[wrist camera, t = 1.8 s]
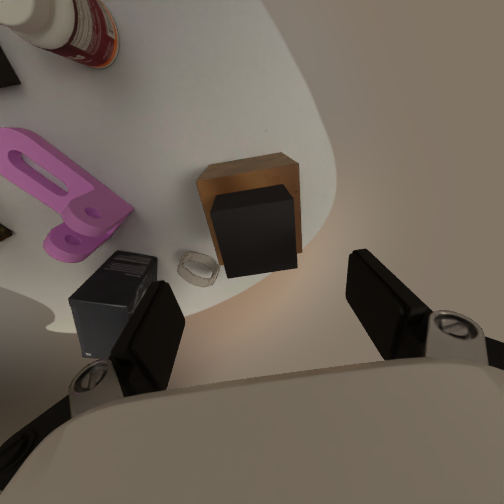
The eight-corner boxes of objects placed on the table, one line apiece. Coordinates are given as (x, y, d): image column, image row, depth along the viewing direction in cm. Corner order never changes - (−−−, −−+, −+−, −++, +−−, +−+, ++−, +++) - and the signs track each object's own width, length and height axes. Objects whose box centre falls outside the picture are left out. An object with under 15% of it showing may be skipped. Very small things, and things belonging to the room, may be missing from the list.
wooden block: (281, 152, 23) (299, 163, 16) (286, 220, 27) (302, 252, 20) (209, 164, 23) (195, 181, 16) (225, 230, 27) (219, 265, 20)
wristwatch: (215, 271, 30) (210, 295, 26) (181, 258, 29) (171, 281, 25) (223, 256, 29) (219, 279, 25) (188, 242, 28) (178, 263, 24)
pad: (283, 183, 17) (294, 198, 13) (287, 243, 19) (297, 268, 16) (216, 195, 17) (209, 212, 13) (230, 252, 20) (227, 278, 16)
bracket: (134, 208, 25) (100, 233, 19) (110, 237, 27) (73, 269, 21) (10, 113, 20) (-89, 108, 14) (-10, 157, 22) (-104, 169, 16)
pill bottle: (56, 48, 18) (-68, -4, 11) (60, -27, 16) (-91, -155, 9) (116, 82, 19) (40, 55, 12) (126, 16, 17) (43, -64, 10)
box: (158, 305, 33) (131, 363, 25) (120, 300, 32) (79, 358, 24) (159, 256, 29) (126, 307, 21) (115, 248, 28) (63, 299, 20)
